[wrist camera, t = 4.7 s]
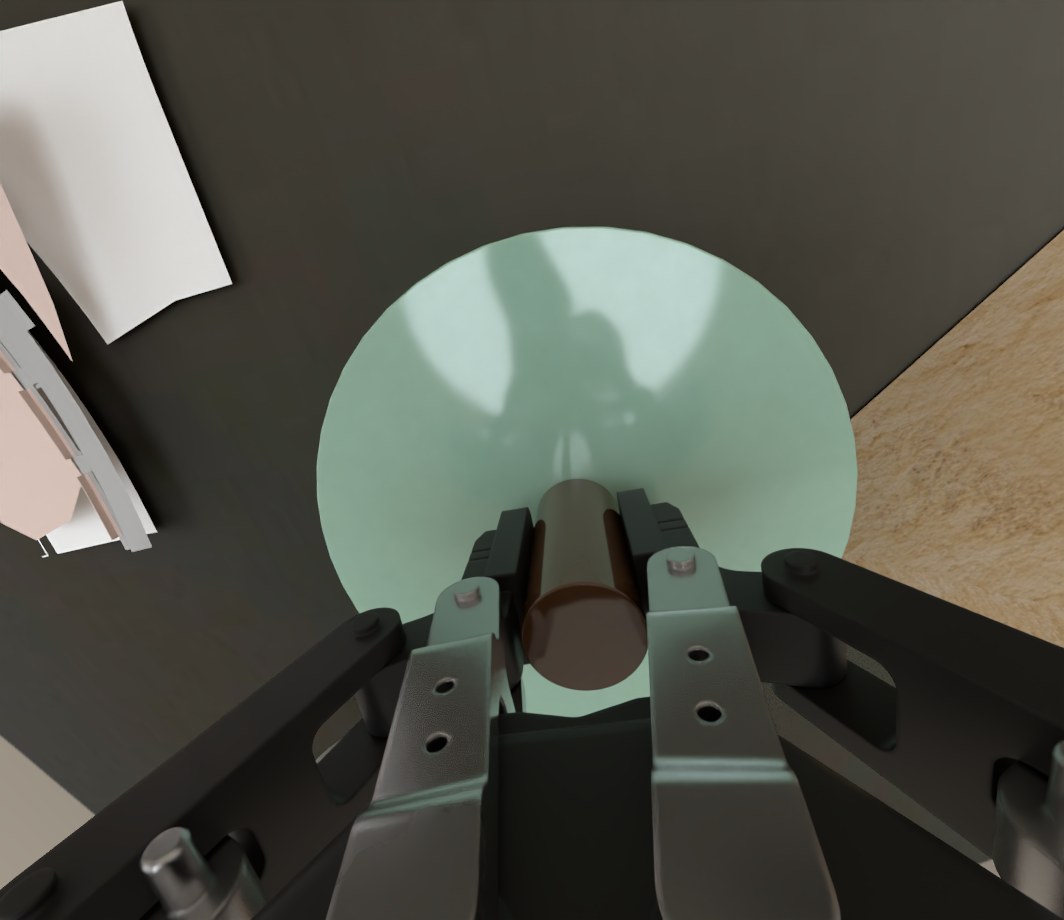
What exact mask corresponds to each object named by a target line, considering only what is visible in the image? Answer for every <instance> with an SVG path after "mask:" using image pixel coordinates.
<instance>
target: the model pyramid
mask: <svg viewBox="0 0 1064 920" xmlns="http://www.w3.org/2000/svg"><path fill="white" fill-rule="evenodd" d="M850 421H851V425H852V429H853V433H854V437H855V448H856V459H857V470H858V475H857V492H856V507H855V511H854V516H853V521H852V526H851V531H850V536H849V540H848V543H847V545H846V548H845V551H844V554H843V556H842V559H843V560H846V561H848V562H851V563H853V564H856V565H858V566H861V567H863V568H866V569H868V570H871V571H873V572H876V573H878V574H881V575H883V576H886V577H888V578H891V579H893V580H895V581H898V582H900V583H903V584H905V585H908V586H910V587H913V588H915V589H918V590H920V591H923V592H925V593H928V594H930V595H933V596H935V597H938V598H940V599H943V600H945V601H948V602H950V603H953V604H955V605H958V606H960V607H963V608H965V609H968V610H970V611H973V612H975V613H978V614H980V615H983V616H985V617H988V618H990V619H993V620H995V621H998V622H1000V623H1003V624H1005V625H1008V626H1010V627H1013V628H1015V629H1018V630H1020V631H1023V632H1025V633H1028V634H1030V635H1033V636H1035V637H1038V638H1040V639H1043V640H1045V641H1048V642H1050V643H1053V644H1055V645H1058V646H1060V647H1063V648H1064V230H1063V231H1062V232H1061V233H1060V234H1059V235H1057V236H1056V237H1055V238H1054V239H1053V240H1052V241H1051V242H1050V243H1048V244H1047V245H1046V246H1045V247H1044V248H1043V249H1042V250H1041V251H1039V252H1038V253H1037V254H1036V255H1035V256H1034V257H1033V258H1032V259H1030V260H1029V261H1028V262H1027V263H1026V264H1025V265H1024V266H1023V267H1021V268H1020V269H1019V270H1018V271H1017V272H1016V273H1015V274H1014V275H1012V276H1011V277H1010V278H1009V279H1008V280H1007V281H1006V282H1005V283H1003V284H1002V285H1001V286H1000V287H999V288H998V289H997V290H996V291H994V292H993V293H992V294H991V295H990V296H989V297H988V298H987V299H985V300H984V301H983V302H982V303H981V304H980V305H979V306H978V307H976V308H975V309H974V310H973V311H972V312H971V313H970V314H969V315H967V316H966V317H965V318H964V319H963V320H962V321H961V322H960V323H959V324H957V325H956V326H955V327H954V328H953V329H952V330H951V331H950V332H948V333H947V334H946V335H945V336H944V337H943V338H942V339H941V340H939V341H938V342H937V343H936V344H935V345H934V346H933V347H932V348H930V349H929V350H928V351H927V352H926V353H925V354H924V355H923V356H921V357H920V358H919V359H918V360H917V361H916V362H915V363H914V364H912V365H911V366H910V367H909V368H908V369H907V370H906V371H905V372H903V373H902V374H901V375H900V376H899V377H898V378H897V379H896V380H894V381H893V382H892V383H891V384H890V385H889V386H888V387H887V388H885V389H884V390H883V391H882V392H881V393H880V394H879V395H878V396H876V397H875V398H874V399H873V400H872V401H871V402H870V403H869V404H867V405H866V406H865V407H864V408H863V409H862V410H861V411H860V412H858V413H857V414H856V415H855V416H854V417H853V418H852V419H851V420H850Z"/></svg>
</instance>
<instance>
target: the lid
mask: <svg viewBox="0 0 1064 920" xmlns="http://www.w3.org/2000/svg"><path fill="white" fill-rule="evenodd" d="M857 475H858V470H857V459H856V448H855V437H854V433H853V429H852V425H851V421H850V417H849V413H848V409H847V405H846V401H845V399H844V396H843V394H842V392H841V389H840V387H839V384H838V382H837V380H836V377H835V375H834V372H833V370H832V368H831V366H830V365H829V363H828V361H827V360H826V358H825V356H824V355H823V353H822V351H821V350H820V348H819V347H818V345H817V343H816V342H815V340H814V338H813V337H812V335H811V334H810V333H809V332H808V331H807V330H806V328H805V327H804V326H803V325H802V324H801V322H800V321H799V320H798V319H797V318H796V317H795V315H794V314H793V313H792V312H791V311H790V309H789V308H788V307H787V306H786V305H785V304H783V303H782V302H781V301H780V300H779V299H778V298H777V297H775V296H774V295H773V294H772V293H771V292H770V291H769V290H767V289H766V288H765V287H764V286H763V285H762V284H761V283H759V282H758V281H757V280H755V279H754V278H752V277H751V276H749V275H747V274H746V273H744V272H743V271H741V270H740V269H738V268H736V267H735V266H733V265H732V264H730V263H729V262H727V261H725V260H724V259H722V258H719V257H717V256H715V255H713V254H710V253H708V252H706V251H704V250H701V249H699V248H697V247H695V246H692V245H690V244H688V243H685V242H682V241H678V240H675V239H671V238H667V237H664V236H660V235H657V234H653V233H650V232H645V231H638V230H630V229H622V228H615V227H607V226H591V227H560V228H553V229H547V230H541V231H534V232H528V233H522V234H519V235H516V236H512V237H509V238H506V239H503V240H499V241H496V242H493V243H490V244H486V245H483V246H481V247H479V248H477V249H475V250H473V251H471V252H468V253H466V254H464V255H462V256H460V257H458V258H456V259H454V260H451V261H449V262H447V263H446V264H444V265H443V266H441V267H440V268H438V269H437V270H435V271H434V272H432V273H431V274H429V275H428V276H426V277H425V278H423V279H421V280H420V281H418V282H417V283H415V284H414V285H413V286H412V287H411V288H410V289H409V290H407V291H406V292H405V293H404V294H403V295H402V296H401V297H400V298H398V299H397V300H396V301H395V302H394V303H393V304H392V305H390V306H389V307H388V308H387V309H386V310H385V311H384V313H383V314H382V315H381V316H380V317H379V319H378V320H377V321H376V322H375V323H374V324H373V326H372V327H371V328H370V329H369V330H368V332H367V333H366V334H365V335H364V336H363V338H362V339H361V341H360V342H359V344H358V346H357V347H356V349H355V350H354V352H353V354H352V355H351V357H350V358H349V360H348V362H347V363H346V365H345V366H344V368H343V371H342V373H341V375H340V377H339V380H338V382H337V384H336V387H335V389H334V391H333V393H332V396H331V398H330V401H329V405H328V408H327V412H326V415H325V419H324V422H323V426H322V430H321V436H320V443H319V451H318V458H317V499H318V506H319V513H320V520H321V527H322V530H323V534H324V537H325V541H326V544H327V548H328V551H329V555H330V558H331V560H332V562H333V565H334V567H335V569H336V572H337V574H338V576H339V579H340V581H341V583H342V585H343V587H344V589H345V590H346V592H347V594H348V595H349V597H350V599H351V600H352V602H353V604H354V606H355V607H356V609H357V611H358V612H359V613H362V612H365V611H368V610H371V609H375V608H384V607H387V608H392V609H395V610H397V611H398V612H399V615H400V618H401V621H402V624H404V623H407V622H410V621H413V620H416V619H419V618H422V617H425V616H427V615H430V614H432V613H434V609H435V605H436V600H437V598H438V596H439V595H440V593H441V592H442V591H443V590H445V589H446V588H447V587H449V586H450V585H452V584H454V583H456V582H458V581H461V579H462V576H463V574H464V571H465V568H466V565H467V562H469V557H470V554H471V553H472V548H473V546H474V543H475V541H476V540H477V539H478V538H479V537H480V536H481V535H482V534H483V533H484V532H485V531H490V530H496V529H497V526H498V522H499V519H500V515H501V512H502V511H506V510H512V509H518V508H524V507H528V508H529V510H530V513H531V517H532V521H533V526H534V534H533V542H532V549H531V557H530V565H529V573H528V580H527V588H526V596H525V603H524V611H523V619H522V627H521V643H522V648H523V651H524V653H525V655H526V657H527V659H528V661H529V663H530V664H526V665H524V666H523V673H522V679H523V683H524V687H525V697H526V711H527V713H535V714H545V715H556V716H566V717H580V716H584V715H587V714H590V713H593V712H596V711H599V710H602V709H605V708H609V707H612V706H615V705H618V704H621V703H624V702H627V701H630V700H633V699H636V698H642V697H650V684H649V662H648V639H647V620H646V616H645V612H644V608H643V604H642V600H641V596H640V594H639V590H638V586H637V582H636V578H635V574H634V570H633V566H632V562H631V558H630V554H629V550H628V546H627V542H626V538H625V534H624V530H623V526H622V522H621V518H620V513H619V507H618V500H617V493H616V492H621V491H628V490H634V489H640V488H644V491H645V493H646V495H647V498H648V500H649V503H650V505H652V504H658V503H664V502H668V503H669V504H671V505H673V506H675V507H677V508H679V510H680V511H681V513H682V515H683V517H684V520H685V521H686V523H687V525H688V528H690V530H691V532H692V534H693V536H694V538H695V540H696V542H697V543H698V545H699V547H700V548H701V549H704V550H707V551H709V552H710V553H712V554H713V555H714V556H715V558H716V561H717V564H718V566H719V567H722V568H725V569H729V570H735V571H751V572H761V562H762V560H763V559H764V558H765V557H766V556H767V555H769V554H770V553H773V552H775V551H778V550H782V549H789V548H807V549H814V550H819V551H822V552H825V553H828V554H831V555H833V556H836V557H838V558H841V559H842V556H843V554H844V551H845V548H846V545H847V543H848V540H849V536H850V531H851V526H852V521H853V516H854V511H855V507H856V492H857Z"/></svg>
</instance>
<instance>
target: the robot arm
mask: <svg viewBox="0 0 1064 920" xmlns="http://www.w3.org/2000/svg"><path fill="white" fill-rule="evenodd" d="M616 493H617V500H618V507H619V513H620V518H621V522H622V526H623V530H624V534H625V538H626V542H627V546H628V550H629V554H630V558H631V562H632V566H633V570H634V574H635V578H636V582H637V586H638V590H639V594H640V596H641V600H642V604H643V608H644V612H645V616H646V620H647V639H648V662H649V684H650V697H642V698H636V699H633V700H630V701H627V702H624V703H621V704H618V705H615V706H612V707H609V708H605V709H602V710H599V711H596V712H593V713H590V714H587V715H584V716H580V717H566V716H556V715H545V714H535V713H527V711H526V697H525V687H524V683H523V679H522V673H523V666H524V665H526V664H530V663H529V661H528V659H527V657H526V655H525V653H524V651H523V648H522V643H521V627H522V619H523V611H524V603H525V596H526V588H527V580H528V573H529V565H530V557H531V549H532V542H533V534H534V526H533V521H532V517H531V513H530V510H529V508H528V507H524V508H518V509H512V510H506V511H502V512H501V515H500V519H499V522H498V526H497V529H496V530H490V531H485V532H484V533H483V534H482V535H481V536H480V537H479V538H478V539H477V540H476V541H475V543H474V546H473V548H472V553H471V554H470V557H469V562H467V565H466V568H465V571H464V574H463V576H462V579H461V581H458V582H456V583H454V584H452V585H450V586H449V587H447V588H446V589H445V590H443V591H442V592H441V593H440V595H439V596H438V598H437V600H436V605H435V609H434V613H432V614H430V615H427V616H425V617H422V618H419V619H416V620H413V621H410V622H407V623H404V624H402V621H401V618H400V615H399V612H398V611H397V610H395V609H392V608H387V607H384V608H375V609H371V610H368V611H365V612H362V613H360V614H358V615H356V616H354V617H352V618H350V619H349V620H348V621H346V622H345V623H343V624H342V625H341V626H340V627H338V628H337V629H336V630H334V631H333V632H332V633H331V634H329V635H328V636H327V637H325V638H324V639H323V640H321V641H320V642H319V643H318V644H316V645H315V646H314V647H312V648H311V649H310V650H309V651H307V652H306V653H305V654H303V655H302V656H301V657H300V658H298V659H297V660H296V661H294V662H293V663H292V664H290V665H289V666H288V667H287V668H285V669H284V670H283V671H281V672H280V673H279V674H278V675H276V676H275V677H274V678H272V679H271V680H270V681H269V682H267V683H266V684H265V685H263V686H262V687H261V688H259V689H258V690H257V691H256V692H254V693H253V694H252V695H250V696H249V697H248V698H247V699H245V700H244V701H243V702H241V703H240V704H239V705H238V706H236V707H235V708H234V709H232V710H231V711H230V712H228V713H227V714H226V715H225V716H223V717H222V718H221V719H219V720H218V721H217V722H216V723H214V724H213V725H212V726H210V727H209V728H208V729H207V730H205V731H204V732H203V733H201V734H200V735H199V736H197V737H196V738H195V739H194V740H192V741H191V742H190V743H188V744H187V745H186V746H185V747H183V748H182V749H181V750H179V751H178V752H177V753H176V754H174V755H173V756H172V757H170V758H169V759H168V760H166V761H165V762H164V763H163V764H161V765H160V766H159V767H157V768H156V769H155V770H154V771H152V772H151V773H150V774H148V775H147V776H146V777H145V778H143V779H142V780H141V781H139V782H138V783H137V784H135V785H134V786H133V787H132V788H130V789H129V790H128V791H126V792H125V793H124V794H123V795H121V796H120V797H119V798H117V799H116V800H115V801H114V802H112V803H111V804H110V805H108V806H107V807H106V808H104V809H103V810H102V811H101V812H99V813H98V814H97V815H95V816H94V817H93V818H92V819H90V820H89V821H88V822H87V823H85V824H84V825H83V826H81V827H80V828H79V829H77V830H76V831H75V832H74V833H72V834H71V835H70V836H68V837H67V838H66V839H65V840H63V841H62V842H61V843H59V844H58V845H57V846H55V847H54V848H53V849H52V850H50V851H49V852H48V853H46V854H45V855H44V856H43V857H41V858H40V859H39V860H37V861H36V862H35V863H33V864H32V865H31V866H30V867H28V868H27V869H26V870H24V871H23V872H22V873H21V874H19V875H18V876H17V877H15V878H14V879H13V880H12V881H11V882H9V883H8V884H7V885H6V886H4V887H3V888H2V889H1V890H0V920H1064V648H1063V647H1060V646H1058V645H1055V644H1053V643H1050V642H1048V641H1045V640H1043V639H1040V638H1038V637H1035V636H1033V635H1030V634H1028V633H1025V632H1023V631H1020V630H1018V629H1015V628H1013V627H1010V626H1008V625H1005V624H1003V623H1000V622H998V621H995V620H993V619H990V618H988V617H985V616H983V615H980V614H978V613H975V612H973V611H970V610H968V609H965V608H963V607H960V606H958V605H955V604H953V603H950V602H948V601H945V600H943V599H940V598H938V597H935V596H933V595H930V594H928V593H925V592H923V591H920V590H918V589H915V588H913V587H910V586H908V585H905V584H903V583H900V582H898V581H895V580H893V579H891V578H888V577H886V576H883V575H881V574H878V573H876V572H873V571H871V570H868V569H866V568H863V567H861V566H858V565H856V564H853V563H851V562H848V561H846V560H843V559H841V558H838V557H836V556H833V555H831V554H828V553H825V552H822V551H819V550H814V549H807V548H789V549H782V550H778V551H775V552H773V553H770V554H769V555H767V556H766V557H765V558H764V559H763V560H762V562H761V572H751V571H735V570H729V569H725V568H722V567H719V566H718V564H717V561H716V558H715V556H714V555H713V554H712V553H710V552H709V551H707V550H704V549H701V548H700V547H699V545H698V543H697V542H696V540H695V538H694V536H693V534H692V532H691V530H690V528H688V525H687V523H686V521H685V520H684V517H683V515H682V513H681V511H680V510H679V508H677V507H675V506H673V505H671V504H669V503H668V502H664V503H658V504H652V505H650V503H649V500H648V498H647V495H646V493H645V491H644V488H640V489H634V490H628V491H621V492H616ZM847 644H848V645H850V646H851V647H853V648H855V649H857V650H859V651H860V652H862V653H864V654H866V655H867V656H869V657H871V658H873V659H874V660H876V661H877V662H879V663H880V664H881V665H882V666H883V667H884V668H885V669H886V670H887V671H888V673H889V674H890V675H891V677H892V679H893V681H894V683H895V686H896V688H895V687H893V686H891V685H889V684H888V683H886V682H884V681H883V680H881V679H879V678H877V677H876V676H874V675H872V674H871V673H869V672H867V671H866V670H864V669H862V668H860V667H859V666H857V665H855V664H854V663H852V662H850V661H848V660H847ZM761 682H767V683H770V684H771V688H772V690H773V691H774V693H775V694H776V695H777V697H779V698H780V699H781V700H782V701H783V702H785V703H786V704H787V705H789V706H790V707H791V708H793V709H794V710H795V711H797V712H798V713H799V714H800V715H802V716H803V717H804V718H806V719H807V720H808V721H810V722H811V723H812V724H814V725H815V726H816V727H818V728H819V729H820V730H822V731H823V732H824V733H826V734H827V735H828V736H830V737H831V738H832V739H834V740H835V741H836V742H838V743H839V744H840V745H842V746H843V747H844V748H846V749H847V750H848V751H850V752H851V753H852V754H854V755H855V756H856V757H857V758H859V759H860V760H861V761H863V762H864V763H865V764H867V765H868V766H869V767H871V768H872V769H873V770H875V771H876V772H877V773H879V774H880V775H881V776H883V777H884V778H885V779H887V780H888V781H889V782H891V783H892V784H893V785H895V786H896V787H897V788H899V789H900V790H901V791H903V792H904V793H905V794H907V795H908V796H909V797H911V798H912V799H913V800H915V801H916V802H917V803H918V804H920V805H921V806H922V807H924V808H925V809H926V810H928V811H929V812H930V813H932V814H933V815H934V816H936V817H937V818H938V819H940V820H941V821H942V822H944V823H945V824H946V825H948V826H949V827H950V828H952V829H953V830H954V831H956V832H957V833H958V834H960V835H961V836H962V837H964V838H965V839H966V840H968V841H969V842H970V843H972V844H973V845H974V846H976V847H977V848H978V849H979V850H981V851H982V852H983V853H985V854H986V855H987V856H989V857H990V858H991V859H993V861H994V864H995V867H996V870H997V872H998V873H999V875H1000V877H1001V878H999V877H997V876H996V875H994V874H993V873H991V872H990V871H988V870H987V869H985V868H984V867H982V866H980V865H979V864H977V863H976V862H974V861H973V860H971V859H970V858H968V857H967V856H965V855H963V854H962V853H960V852H959V851H957V850H956V849H954V848H953V847H951V846H950V845H948V844H946V843H945V842H943V841H942V840H940V839H939V838H937V837H936V836H934V835H932V834H931V833H929V832H928V831H926V830H925V829H923V828H922V827H920V826H919V825H917V824H915V823H914V822H912V821H911V820H909V819H908V818H906V817H905V816H903V815H902V814H900V813H898V812H897V811H895V810H894V809H892V808H891V807H889V806H888V805H886V804H885V803H883V802H881V801H880V800H878V799H877V798H875V797H874V796H872V795H871V794H869V793H867V792H866V791H864V790H863V789H861V788H860V787H858V786H857V785H855V784H854V783H852V782H850V781H849V780H847V779H846V778H844V777H843V776H841V775H840V774H838V773H837V772H835V771H833V770H832V769H830V768H829V767H827V766H826V765H824V764H823V763H821V762H820V761H818V760H816V759H815V758H813V757H812V756H810V755H809V754H807V753H806V752H804V751H802V750H801V749H799V748H798V747H796V746H795V745H793V744H792V743H790V742H789V741H787V740H785V739H784V738H782V737H781V736H779V735H778V733H777V730H776V727H775V724H774V721H773V718H772V715H771V712H770V708H769V705H768V702H767V699H766V696H765V693H764V690H763V687H762V684H761ZM353 695H354V696H355V699H356V701H357V704H358V707H359V709H360V712H361V715H362V717H363V718H362V719H361V720H360V721H359V722H358V723H357V724H356V725H355V726H354V727H353V728H352V729H351V730H350V731H349V732H348V733H347V734H346V735H345V736H344V737H343V738H342V739H341V740H340V741H339V742H338V743H337V744H336V745H335V746H334V747H333V748H332V749H331V750H330V751H329V752H328V753H327V754H326V755H325V756H324V757H323V758H322V759H321V760H320V761H319V762H318V763H316V761H315V758H314V756H313V753H312V744H313V740H314V737H315V735H316V732H317V731H318V729H319V728H320V726H321V725H322V724H323V723H324V722H325V721H326V720H327V719H328V718H329V717H331V716H332V715H333V714H334V713H335V712H336V711H337V710H338V709H339V708H340V707H341V706H342V705H343V704H344V703H345V702H347V701H348V700H349V699H350V698H351V697H352V696H353Z"/></svg>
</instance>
